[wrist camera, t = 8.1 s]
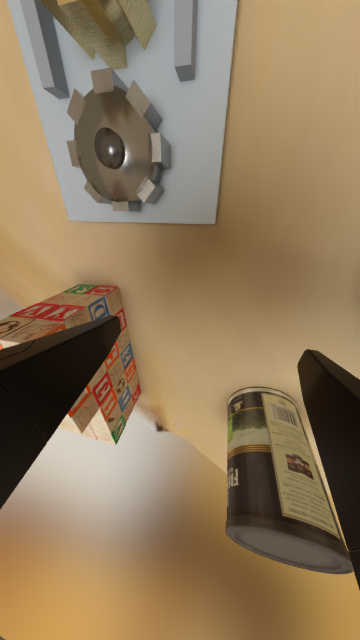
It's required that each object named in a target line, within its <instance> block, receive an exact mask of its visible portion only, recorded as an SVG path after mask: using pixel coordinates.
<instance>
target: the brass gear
mask: <svg viewBox="0 0 360 640" xmlns="http://www.w3.org/2000/svg"><path fill="white" fill-rule="evenodd" d="M40 2H41V3H42V4H43V5H44V6H45V7H46V8H47V9H48V11H49V12H50V13H51V14H52V15H53V16H54V17H55V18H56V20H57V21H58V22H59V23H60V24H61V25H62V26H63V27H64V28H65V30H66V31H67V32H68V33H69V34H70V35H71V36H72V37H73V39H74V40H75V41H76V42H77V43H78V44H79V45H80V46H81V48H82V49H83V50H84V51H85V52H86V53H87V54H88V55H89V56H90V58H91V59H92V60H93V59H94V57H95V54H96V52H97V53H98V54H99V56H100V57H101V58H102V59H103V60H104V62H105V63H106V64H107V65H108V67H109V68H110V67H111V68H112V69H113V70H117V69H123V68H128V66H127V55H126V45H128V44H129V43H130V42H131V41H132V40H133V38H134V37H136V39H137V40H138V42H139V43H140V45H141V46H142V48H143V49H144V50H146V48H147V46H148V43H149V41H150V39H151V37H152V35H153V32H154V30H155V28H156V26H157V25H156V23H155V20H154V18H153V15H152V12H151V10H150V7H149V5H148V0H40Z"/></svg>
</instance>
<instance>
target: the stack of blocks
mask: <svg viewBox="0 0 360 640" xmlns="http://www.w3.org/2000/svg"><path fill="white" fill-rule="evenodd" d="M109 315H115V316H118V317H119V318H120V324H121V333H120V335H119V337H118V339H117V341H116V342H115V344H114V346H113V348H112V350H111V351H110V353H109V355H108V356H107V358H106V360H105V361H104V362H103V364H102V365H101V367H100V368H99V369H98V371H97V372H96V374H95V375H94V377H93V378H92V379H91V381H90V382H89V384H88V385H87V387H86V388H85V389H84V391H83V392H82V394H81V395H80V397H79V398H78V399H77V401H76V402H75V404H74V405H73V406H72V408H71V409H70V411H69V412H68V414H67V415H66V416H65V418H64V419H63V421H62V422H61V424H60V425H59V426H58V428H61V429H66V430H69V431H72V432H76V433H79V434H81V435H82V436H85V437H89V438H92V439H96V440H101V441H104V442H108V443H111V444H115V445H116V444H117V442H118V440H119V438H120V436H121V434H122V432H123V430H124V427H125V426H126V422H127V420H128V418H129V416H130V414H131V412H132V410H133V408H134V405H135V403H136V401H137V400H138V397H139V395H140V393H141V391H140V387H139V383H138V382H139V381H138V376H137V372H136V366H135V361H134V358H133V354H132V349H131V345H130V341H129V336H128V331H127V327H126V326H127V325H126V320H125V315H124V311H123V305H122V300H121V296H120V291H119V287H110V286H90V285H77V286H75V287H73V288H70V289H68V290H66V291H64V292H62V293H60V294H58V295H55V296H53V297H51V298H49V299H46V300H44V301H42V302H40V303H37V304H34V305H32V306H30V307H28V308H26V309H23V310H21V311H19V312H16V313H14V314H12V315H10V316H9V317H7V318H5V319H3V320H1V321H0V349H3V348H7V347H10V346H14V345H17V344H20V343H24V342H27V341H30V340H33V339H37V338H40V337H43V336H46V335H49V334H52V333H55V332H59V331H62V330H65V329H68V328H71V327H74V326H77V325H81V324H84V323H87V322H90V321H93V320H96V319H100V318H103V317H106V316H109Z"/></svg>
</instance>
